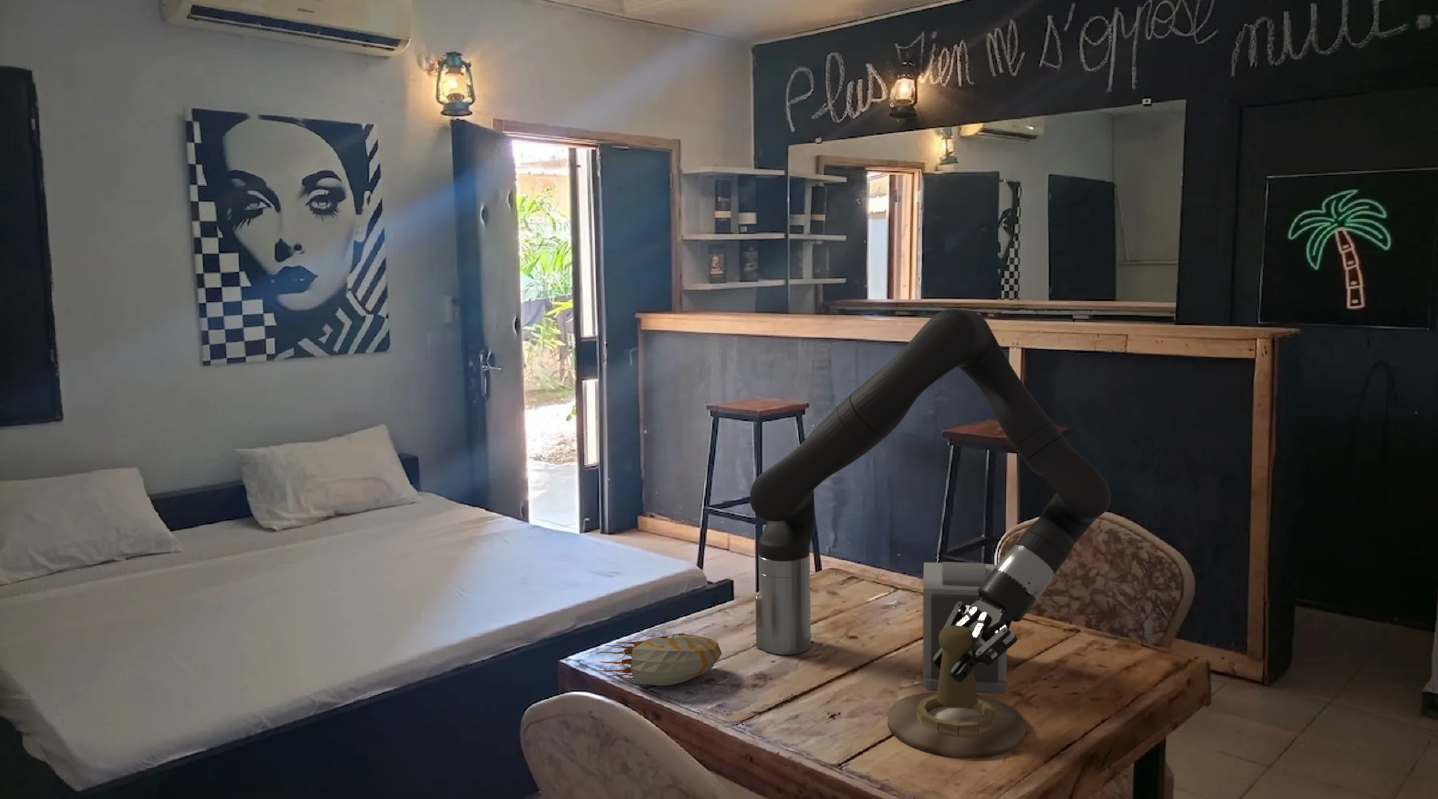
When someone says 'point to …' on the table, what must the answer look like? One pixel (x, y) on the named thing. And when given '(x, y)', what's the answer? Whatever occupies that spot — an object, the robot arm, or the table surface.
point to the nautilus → (668, 659)
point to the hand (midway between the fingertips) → (945, 671)
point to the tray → (956, 726)
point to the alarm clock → (939, 600)
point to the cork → (954, 647)
